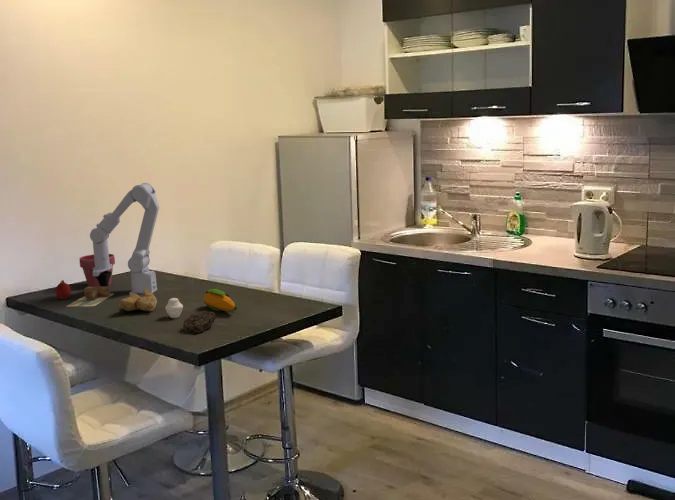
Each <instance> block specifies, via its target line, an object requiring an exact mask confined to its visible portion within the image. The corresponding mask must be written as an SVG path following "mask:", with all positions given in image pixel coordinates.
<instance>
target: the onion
mask: <svg viewBox="0 0 675 500" xmlns="http://www.w3.org/2000/svg"><path fill="white" fill-rule="evenodd" d="M54 292H55V295H56V297H58V299H61V300H66V299H68V298H69V297H70V296H71V294H72V288H71V286H70V285H69V284H68V283H66V282H65V280H60V281H59V283H58V284H57V285H56V287H55V290H54Z"/></svg>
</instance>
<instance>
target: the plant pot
mask: <svg viewBox="0 0 675 500" xmlns="http://www.w3.org/2000/svg"><path fill="white" fill-rule="evenodd" d="M109 262H110V264H112V267H113V268H112V269H110V270H108V271H111V272H112V274H111V276H110V279H109V284H108V286H110V285H111V284H112V278H113V272H114V271H113V270H114V265H115V264H116V260H115V255H114V253H113V254H112V253H109ZM79 267H80V268H82V271H83V274H84V278H85V281H86V284H87V287H100V284H99V282H98V280H97V278H96V277H95V276H93V271H94V270H93V269H92V268H94V267H95V261H94V253H93V254H89V255H83V256H79Z"/></svg>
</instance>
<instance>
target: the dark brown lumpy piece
mask: <svg viewBox="0 0 675 500" xmlns="http://www.w3.org/2000/svg"><path fill="white" fill-rule="evenodd" d="M216 319H217V317H216V314H215V312H213V311H208V310H201V311H199V312H198V313H191V314H190V315H189V316H188V317H187V318H185V319H184V321H183V322H182V327H183V329H184V332H186V333H189V332H194V333H193V334H199V333H201V332H204V331H206V330H207V329H209V328H211V327H212V326H213V323H215V320H216Z"/></svg>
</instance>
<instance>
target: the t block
mask: <svg viewBox="0 0 675 500" xmlns="http://www.w3.org/2000/svg"><path fill="white" fill-rule="evenodd" d="M83 289H84V292H83V293H84V296H85V297H86V301H94V300H95V299H97V298H99V297H108V296H109V295H110V294H111V291H110V286H108V287H89V286H86V287H84V288H83Z"/></svg>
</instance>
